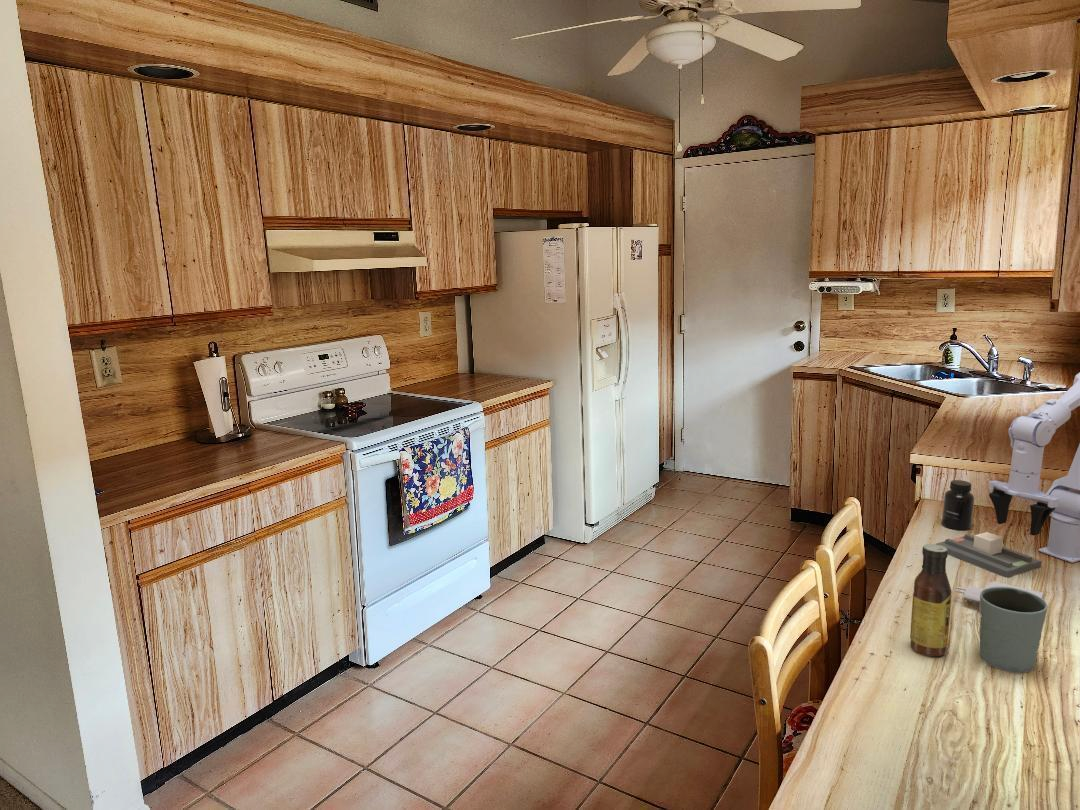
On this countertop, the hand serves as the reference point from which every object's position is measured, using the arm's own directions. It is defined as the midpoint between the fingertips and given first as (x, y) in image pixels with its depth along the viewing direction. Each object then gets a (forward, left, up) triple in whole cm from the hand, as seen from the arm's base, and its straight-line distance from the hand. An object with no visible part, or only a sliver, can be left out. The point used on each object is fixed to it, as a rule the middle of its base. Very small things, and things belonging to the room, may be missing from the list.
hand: (1017, 528), depth 170 cm
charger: (+21, +11, -10) cm, 26 cm away
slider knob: (0, -7, -8) cm, 11 cm away
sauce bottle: (+47, +15, -10) cm, 50 cm away
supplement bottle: (-12, -24, -10) cm, 29 cm away
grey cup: (+38, +24, -10) cm, 46 cm away
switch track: (0, -7, -10) cm, 12 cm away
